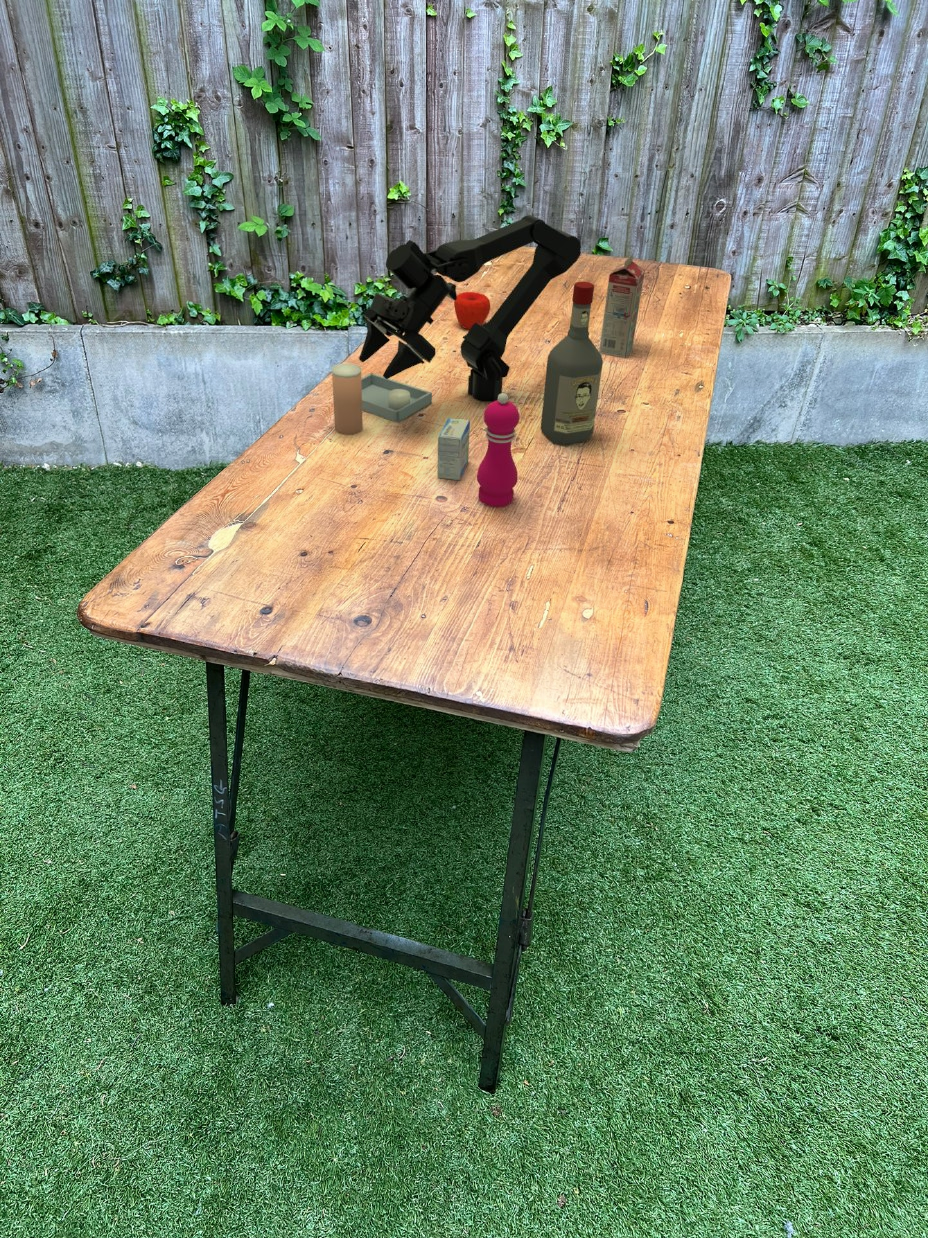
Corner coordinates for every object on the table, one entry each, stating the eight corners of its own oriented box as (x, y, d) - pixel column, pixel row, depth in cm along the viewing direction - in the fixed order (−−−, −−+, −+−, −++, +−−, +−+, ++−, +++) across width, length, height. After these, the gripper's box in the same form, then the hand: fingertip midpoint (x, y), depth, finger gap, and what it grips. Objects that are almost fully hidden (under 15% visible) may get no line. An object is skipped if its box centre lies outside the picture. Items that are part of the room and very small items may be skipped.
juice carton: (598, 353, 220) (611, 258, 207) (606, 343, 225) (619, 251, 211) (625, 358, 218) (640, 263, 205) (632, 348, 223) (647, 255, 210)
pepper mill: (473, 488, 167) (479, 384, 154) (513, 488, 167) (521, 384, 155) (477, 509, 161) (483, 402, 149) (518, 508, 162) (527, 402, 149)
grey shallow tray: (431, 405, 193) (431, 392, 191) (397, 426, 185) (397, 412, 183) (371, 386, 200) (371, 372, 198) (336, 404, 192) (335, 391, 190)
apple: (495, 325, 232) (497, 294, 227) (476, 335, 226) (478, 303, 221) (465, 317, 235) (466, 286, 231) (446, 327, 229) (447, 295, 225)
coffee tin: (368, 430, 183) (367, 368, 175) (350, 441, 179) (348, 377, 171) (347, 423, 185) (344, 360, 177) (328, 432, 181) (325, 369, 173)
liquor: (535, 428, 187) (550, 279, 168) (575, 422, 190) (593, 274, 171) (556, 448, 180) (574, 295, 162) (596, 441, 183) (618, 290, 165)
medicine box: (460, 481, 168) (462, 438, 163) (436, 478, 169) (437, 435, 164) (468, 461, 175) (470, 419, 169) (445, 458, 175) (447, 416, 170)
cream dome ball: (414, 406, 191) (414, 392, 189) (401, 413, 188) (401, 399, 186) (397, 400, 193) (397, 387, 191) (384, 407, 190) (384, 394, 188)
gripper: (371, 263, 176) (322, 329, 177) (423, 292, 164) (370, 363, 165) (405, 298, 184) (358, 361, 186) (457, 328, 172) (407, 395, 174)
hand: (372, 369), depth 177 cm, fingers open, 9 cm apart
